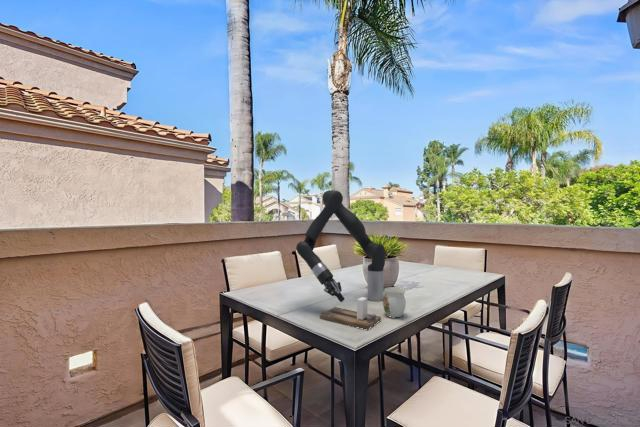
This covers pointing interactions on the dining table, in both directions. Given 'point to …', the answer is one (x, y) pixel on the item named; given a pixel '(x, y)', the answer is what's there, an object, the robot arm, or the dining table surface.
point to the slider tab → (361, 308)
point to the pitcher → (394, 301)
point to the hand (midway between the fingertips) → (342, 300)
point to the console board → (349, 318)
